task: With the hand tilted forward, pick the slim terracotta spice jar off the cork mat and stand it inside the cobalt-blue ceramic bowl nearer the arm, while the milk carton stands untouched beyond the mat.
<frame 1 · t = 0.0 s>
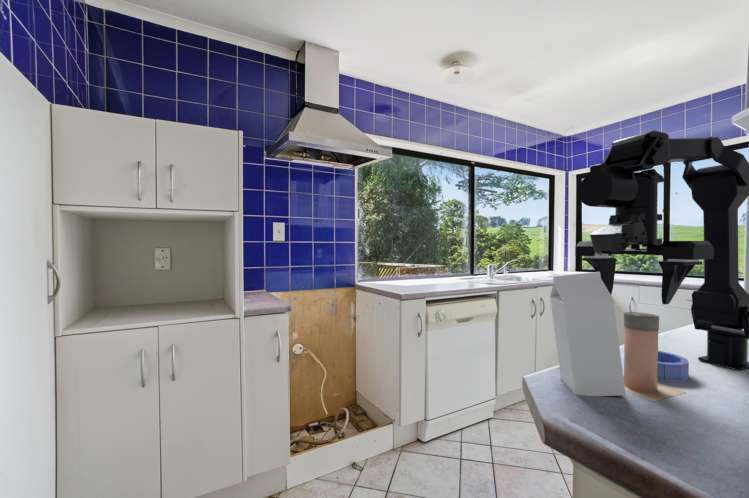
hand: (634, 299, 59), 15 cm above the countertop, tool pointing down, fingers open, 9 cm apart
spice jar: (640, 387, 56), point 1 cm above the countertop, touching cork mat
milk carton: (591, 388, 57), on the countertop
cork mat: (642, 390, 57), on the countertop
bowl: (655, 374, 63), on the countertop
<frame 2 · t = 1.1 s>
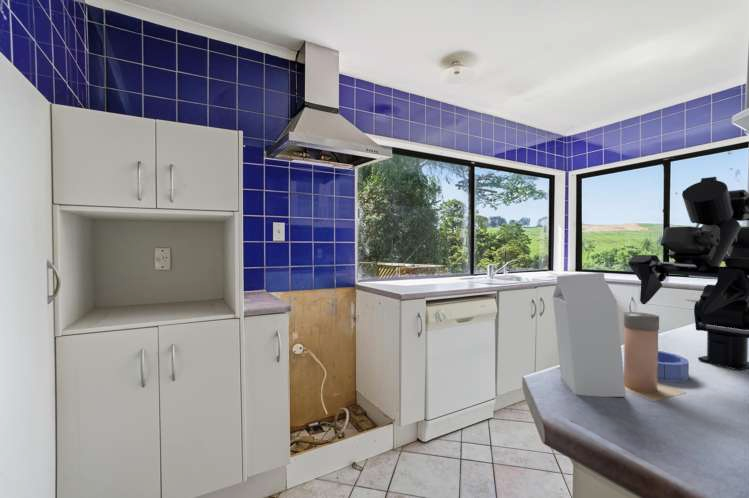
hand: (671, 307, 59), 13 cm above the countertop, tool tilted 45°, fingers open, 9 cm apart
milk carton: (591, 389, 57), on the countertop, touching cork mat
everything else where it was.
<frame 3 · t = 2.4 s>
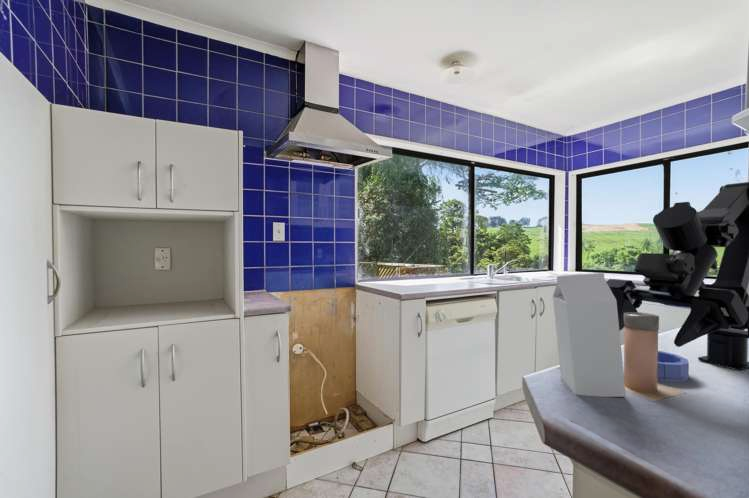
hand: (643, 337, 57), 9 cm above the countertop, tool tilted 45°, fingers open, 9 cm apart
nothing on the countertop moved.
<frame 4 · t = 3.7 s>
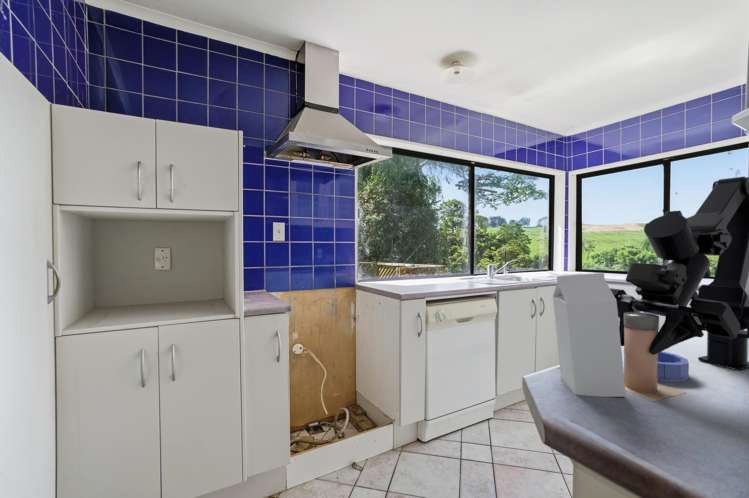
hand: (635, 348, 56), 7 cm above the countertop, tool tilted 45°, fingers closed on spice jar, 4 cm apart
spice jar: (640, 387, 56), point 1 cm above the countertop, touching cork mat, gripper
everything else where it was.
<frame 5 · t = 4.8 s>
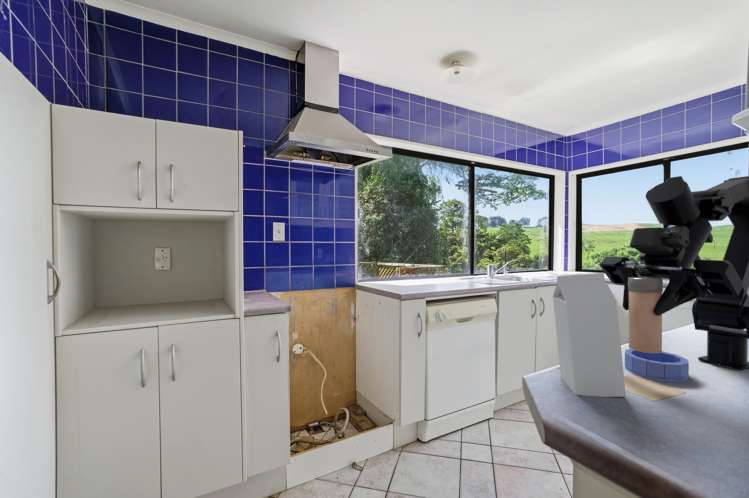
hand: (639, 311, 57), 13 cm above the countertop, tool tilted 45°, fingers closed on spice jar, 4 cm apart
spice jar: (644, 349, 58), point 7 cm above the countertop, touching gripper
everything else where it was.
when the fingers open (9 cm above the countertop, at t = 6.4 s): spice jar drops 1 cm, resting on bowl.
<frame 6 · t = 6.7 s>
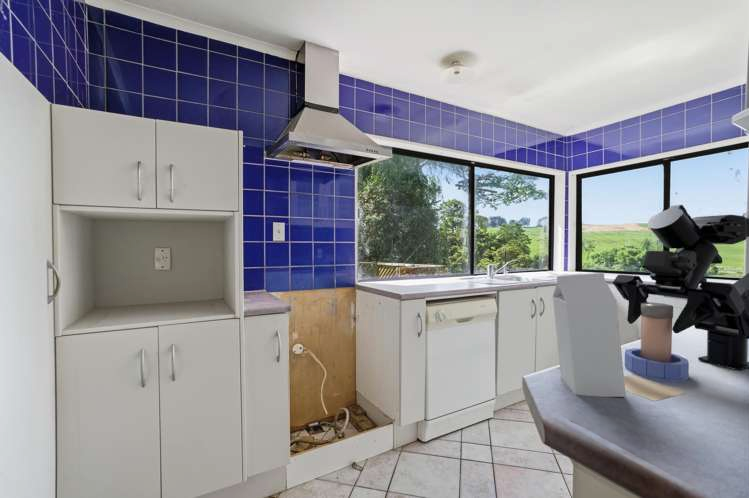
hand: (650, 326, 63), 9 cm above the countertop, tool tilted 45°, fingers open, 7 cm apart
spice jar: (655, 369, 63), point 1 cm above the countertop, touching bowl
everything else where it was.
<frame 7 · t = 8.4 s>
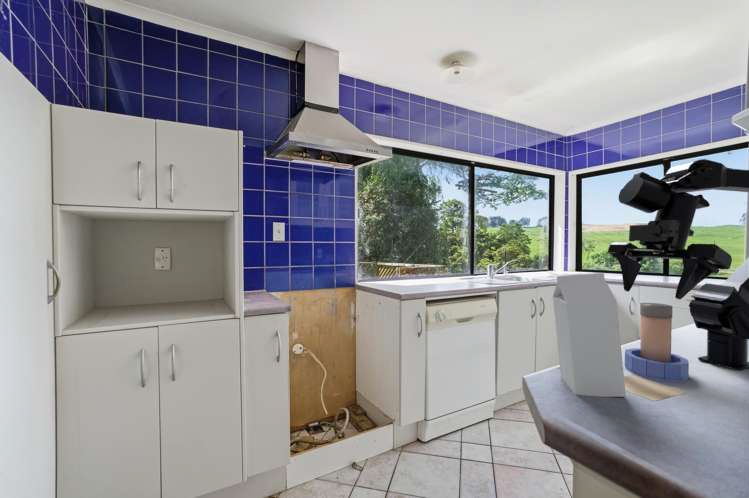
hand: (650, 294, 67), 14 cm above the countertop, tool tilted 20°, fingers open, 9 cm apart
nothing on the countertop moved.
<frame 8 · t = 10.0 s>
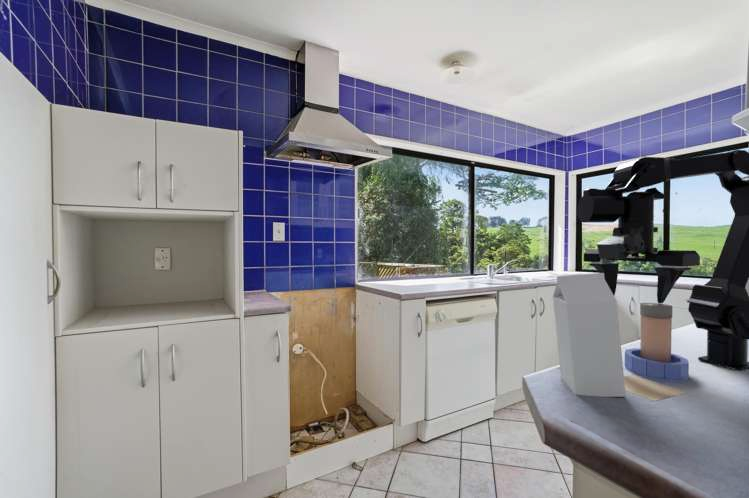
hand: (634, 299, 69), 13 cm above the countertop, tool pointing down, fingers open, 9 cm apart
nothing on the countertop moved.
at the end: spice jar 0.1 cm from the bowl (horizontally); spice jar point 1.0 cm above the countertop; spice jar tilted 0° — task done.
